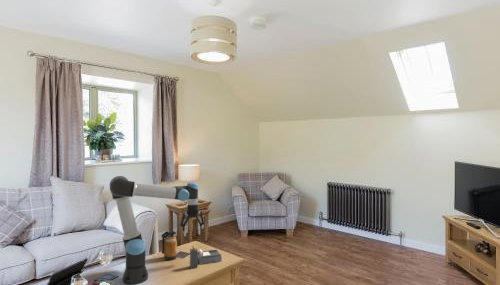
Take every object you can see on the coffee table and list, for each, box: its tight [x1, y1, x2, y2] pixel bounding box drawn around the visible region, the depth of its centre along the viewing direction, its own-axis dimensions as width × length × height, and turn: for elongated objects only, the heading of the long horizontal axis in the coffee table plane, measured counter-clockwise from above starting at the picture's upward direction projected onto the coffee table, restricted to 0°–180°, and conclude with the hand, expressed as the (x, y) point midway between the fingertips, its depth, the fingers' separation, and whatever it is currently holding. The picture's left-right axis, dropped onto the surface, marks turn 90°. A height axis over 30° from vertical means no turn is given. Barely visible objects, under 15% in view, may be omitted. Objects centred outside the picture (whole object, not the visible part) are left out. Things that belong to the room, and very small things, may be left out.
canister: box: [161, 230, 178, 261], centre depth 229 cm, size 9×11×20 cm
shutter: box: [198, 248, 211, 257], centre depth 226 cm, size 7×7×3 cm
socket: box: [198, 249, 222, 265], centre depth 227 cm, size 16×12×5 cm
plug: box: [189, 245, 199, 269], centre depth 214 cm, size 4×4×14 cm
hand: (192, 235), depth 222 cm, fingers open, 10 cm apart
